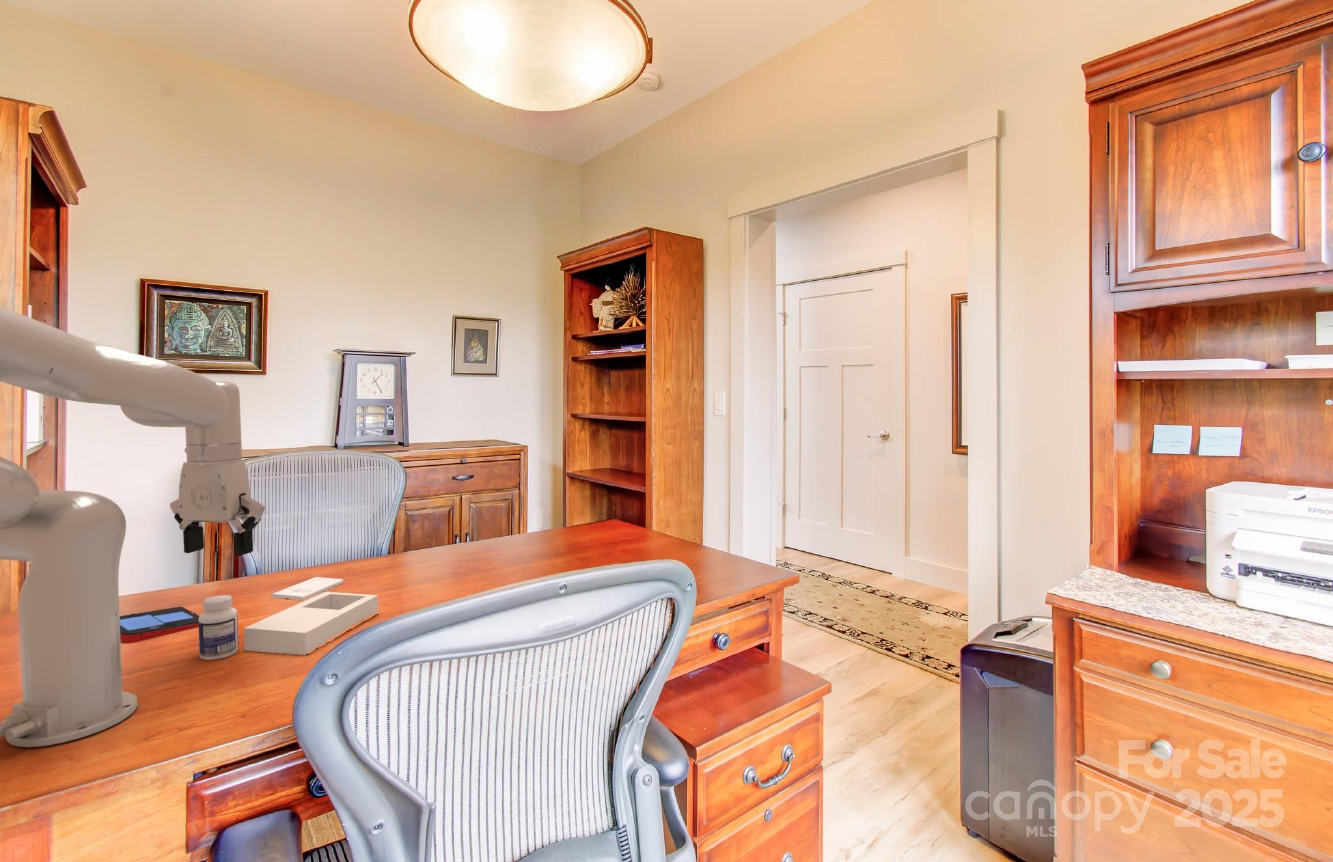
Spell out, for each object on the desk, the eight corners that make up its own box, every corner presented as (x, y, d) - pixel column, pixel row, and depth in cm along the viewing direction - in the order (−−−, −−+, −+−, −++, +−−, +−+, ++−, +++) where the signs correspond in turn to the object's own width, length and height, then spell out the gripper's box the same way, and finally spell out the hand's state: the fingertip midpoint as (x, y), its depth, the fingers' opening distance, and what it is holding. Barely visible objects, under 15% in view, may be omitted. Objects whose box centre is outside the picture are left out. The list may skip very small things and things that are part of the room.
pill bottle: (207, 649, 104) (206, 595, 104) (243, 646, 106) (242, 592, 105) (193, 662, 99) (191, 605, 99) (231, 658, 101) (229, 602, 100)
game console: (210, 626, 116) (209, 615, 116) (124, 648, 105) (123, 635, 105) (183, 610, 124) (182, 600, 124) (100, 629, 113) (100, 618, 113)
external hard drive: (343, 585, 142) (302, 603, 130) (314, 583, 143) (270, 600, 131) (343, 579, 142) (302, 596, 130) (314, 576, 143) (270, 593, 131)
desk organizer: (305, 655, 102) (305, 632, 102) (244, 650, 104) (243, 628, 104) (378, 614, 122) (378, 595, 122) (325, 610, 124) (325, 591, 124)
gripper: (148, 454, 98) (153, 556, 100) (241, 457, 96) (245, 561, 97) (191, 450, 106) (195, 544, 107) (277, 452, 103) (281, 549, 104)
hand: (219, 552), depth 102 cm, fingers open, 9 cm apart
